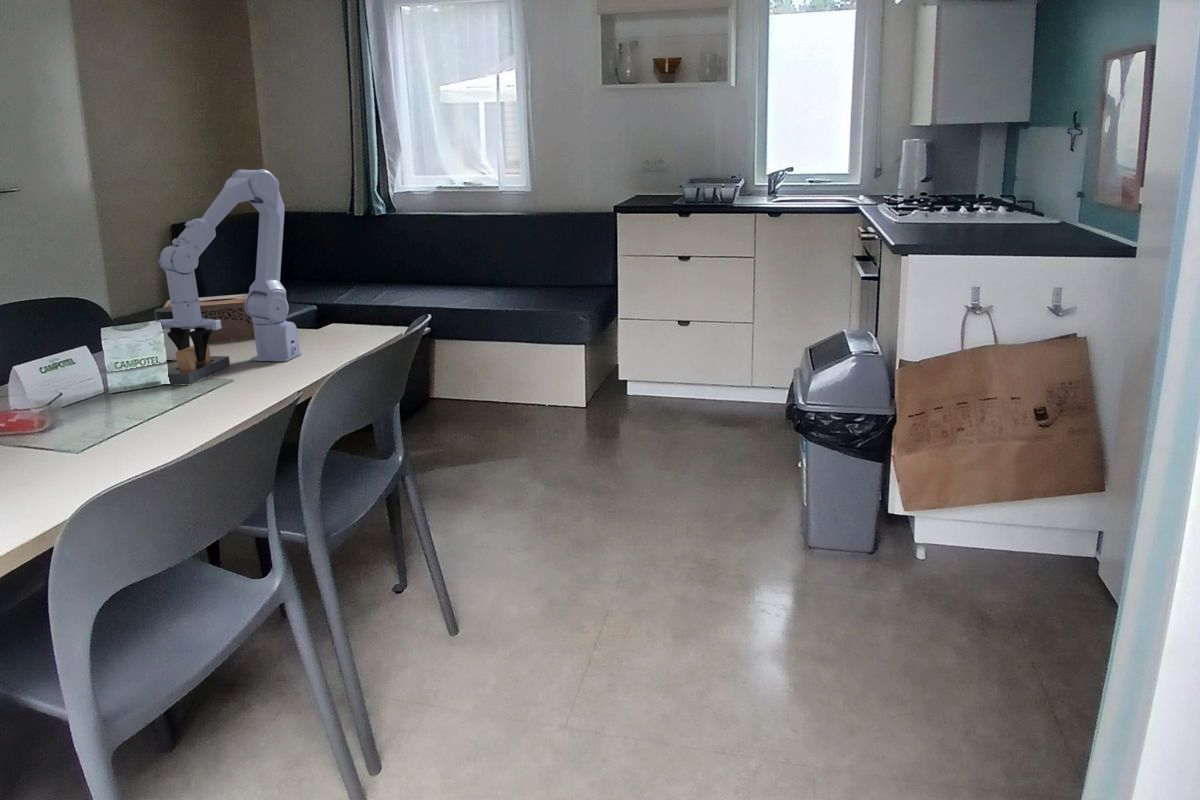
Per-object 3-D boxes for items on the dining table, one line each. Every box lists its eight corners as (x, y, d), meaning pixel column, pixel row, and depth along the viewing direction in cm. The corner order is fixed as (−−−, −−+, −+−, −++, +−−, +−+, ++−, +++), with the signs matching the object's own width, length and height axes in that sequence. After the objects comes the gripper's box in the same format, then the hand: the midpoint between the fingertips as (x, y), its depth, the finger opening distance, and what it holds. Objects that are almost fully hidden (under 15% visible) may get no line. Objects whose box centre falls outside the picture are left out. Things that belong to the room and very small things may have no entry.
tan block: (200, 367, 210) (196, 344, 208) (212, 367, 209) (208, 344, 208) (179, 376, 202) (175, 352, 201) (191, 376, 202) (187, 352, 200)
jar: (202, 356, 224) (195, 308, 220) (167, 362, 219) (159, 313, 215) (191, 351, 230) (184, 304, 227) (157, 356, 226) (149, 308, 222)
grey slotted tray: (203, 366, 214) (201, 356, 213) (230, 366, 213) (228, 356, 212) (160, 384, 199) (158, 373, 198) (189, 385, 198) (188, 373, 197)
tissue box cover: (272, 327, 258) (268, 292, 256) (272, 337, 245) (267, 300, 242) (173, 336, 251) (167, 300, 248) (168, 346, 238) (161, 308, 235)
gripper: (143, 304, 199) (154, 364, 203) (204, 304, 196) (213, 365, 200) (163, 298, 205) (173, 357, 209) (222, 298, 203) (231, 357, 207)
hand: (194, 360), depth 205 cm, fingers closed on tan block, 3 cm apart
